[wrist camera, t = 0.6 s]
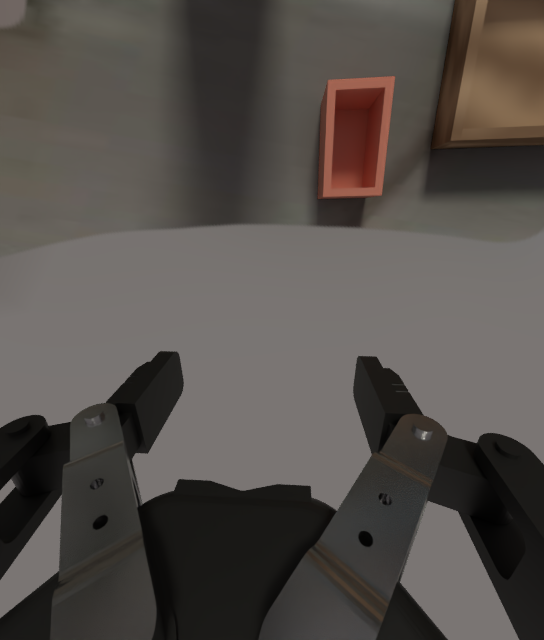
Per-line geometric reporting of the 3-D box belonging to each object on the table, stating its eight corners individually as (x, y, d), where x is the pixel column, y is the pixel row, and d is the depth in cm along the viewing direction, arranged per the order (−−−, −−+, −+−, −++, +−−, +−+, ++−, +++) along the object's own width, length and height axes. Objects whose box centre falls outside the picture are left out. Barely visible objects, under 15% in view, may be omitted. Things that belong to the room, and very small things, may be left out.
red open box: (320, 104, 29) (327, 80, 23) (374, 102, 28) (395, 76, 23) (317, 199, 32) (323, 196, 27) (365, 197, 32) (381, 195, 26)
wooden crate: (460, -31, 25) (490, -74, 21) (628, -45, 24) (691, -92, 20) (430, 149, 30) (450, 140, 26) (568, 144, 29) (609, 134, 25)
